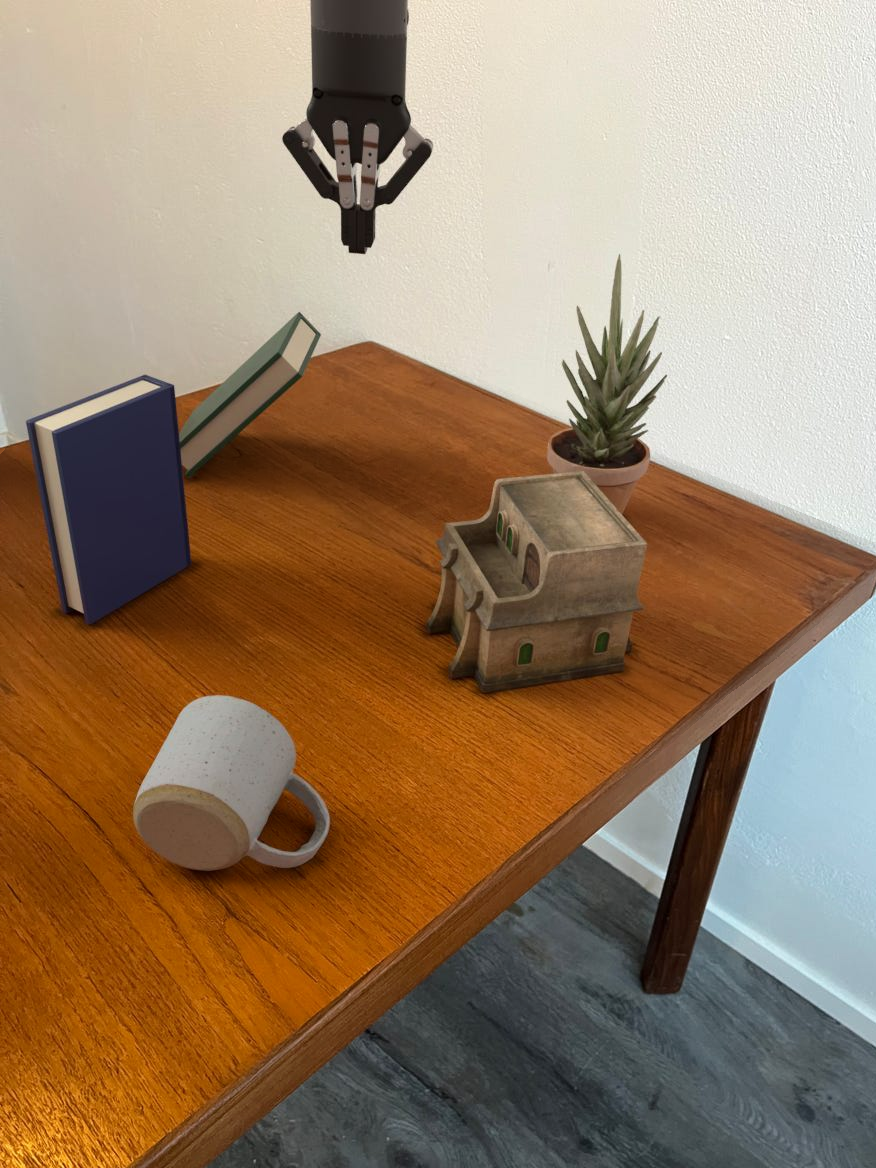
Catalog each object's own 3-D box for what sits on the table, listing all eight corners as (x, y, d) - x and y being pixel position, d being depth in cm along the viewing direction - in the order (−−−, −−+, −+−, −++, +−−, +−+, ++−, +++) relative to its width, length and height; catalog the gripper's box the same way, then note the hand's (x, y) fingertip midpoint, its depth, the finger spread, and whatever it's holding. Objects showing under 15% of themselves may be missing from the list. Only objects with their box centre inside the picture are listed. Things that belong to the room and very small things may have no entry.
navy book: (174, 384, 76) (145, 374, 77) (56, 433, 68) (25, 420, 69) (191, 564, 85) (165, 552, 86) (89, 625, 77) (62, 611, 78)
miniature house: (573, 574, 89) (592, 456, 82) (645, 671, 78) (673, 544, 72) (409, 595, 84) (415, 471, 77) (462, 700, 74) (473, 568, 67)
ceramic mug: (130, 868, 59) (115, 773, 54) (184, 773, 65) (174, 681, 61) (307, 901, 58) (306, 808, 54) (344, 801, 65) (346, 710, 60)
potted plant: (560, 483, 103) (596, 231, 88) (649, 508, 100) (701, 252, 85) (522, 524, 95) (554, 256, 81) (617, 553, 92) (667, 280, 78)
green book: (321, 334, 100) (299, 311, 98) (302, 376, 91) (277, 351, 89) (215, 430, 106) (193, 410, 105) (188, 478, 97) (163, 457, 96)
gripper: (264, 20, 76) (275, 257, 86) (440, 36, 76) (429, 270, 86) (283, 11, 82) (291, 233, 92) (446, 26, 82) (435, 246, 92)
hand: (358, 251), depth 89 cm, fingers closed
